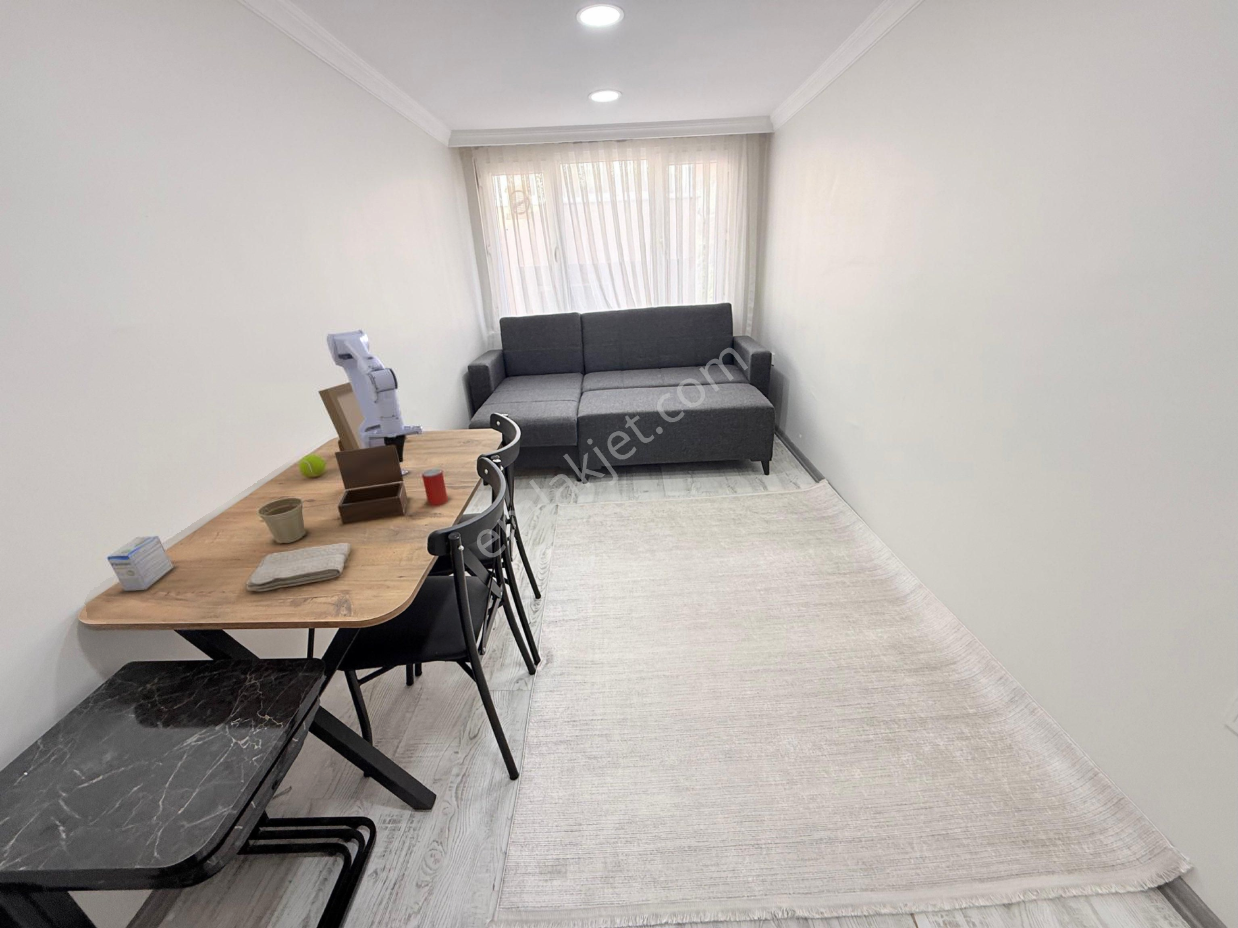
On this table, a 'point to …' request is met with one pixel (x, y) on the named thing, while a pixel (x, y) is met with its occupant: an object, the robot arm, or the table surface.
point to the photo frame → (344, 415)
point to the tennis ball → (312, 465)
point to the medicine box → (140, 563)
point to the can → (435, 487)
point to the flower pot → (284, 519)
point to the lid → (369, 466)
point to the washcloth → (299, 567)
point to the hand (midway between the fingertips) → (400, 461)
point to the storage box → (373, 503)
